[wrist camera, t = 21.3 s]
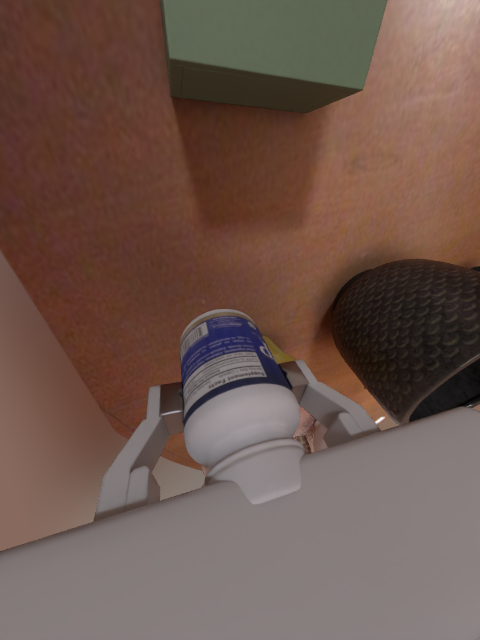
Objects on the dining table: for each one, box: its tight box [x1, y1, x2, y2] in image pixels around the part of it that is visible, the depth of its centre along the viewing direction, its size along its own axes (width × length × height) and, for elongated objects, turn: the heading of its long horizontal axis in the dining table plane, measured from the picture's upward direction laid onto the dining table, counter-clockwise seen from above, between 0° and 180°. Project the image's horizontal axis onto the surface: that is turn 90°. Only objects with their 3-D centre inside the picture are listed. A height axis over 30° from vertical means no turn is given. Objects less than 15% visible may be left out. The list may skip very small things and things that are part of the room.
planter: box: [331, 259, 480, 425], centre depth 29 cm, size 20×20×19 cm
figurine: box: [294, 436, 311, 454], centre depth 68 cm, size 7×7×12 cm
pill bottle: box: [180, 309, 308, 504], centre depth 10 cm, size 5×5×9 cm
